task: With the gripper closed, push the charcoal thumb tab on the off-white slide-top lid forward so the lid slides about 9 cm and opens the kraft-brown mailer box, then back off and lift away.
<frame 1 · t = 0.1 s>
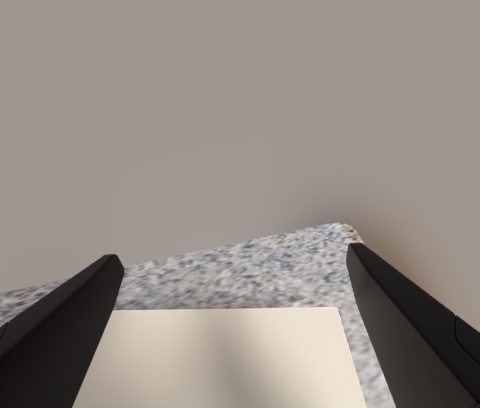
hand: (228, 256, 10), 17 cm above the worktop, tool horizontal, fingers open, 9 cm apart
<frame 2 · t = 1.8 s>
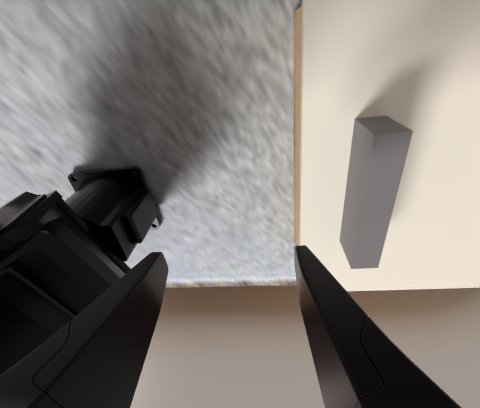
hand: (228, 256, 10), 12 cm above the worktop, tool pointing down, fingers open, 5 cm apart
mailer box: (387, 145, 19), on the worktop
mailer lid: (444, 190, 13), point 7 cm above the worktop, slide at 0.0 cm
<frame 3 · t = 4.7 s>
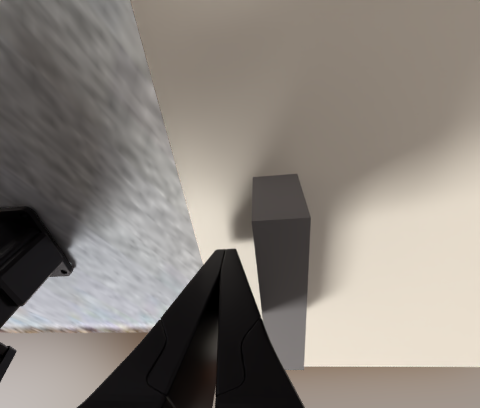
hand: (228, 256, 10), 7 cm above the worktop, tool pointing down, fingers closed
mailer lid: (387, 273, 9), point 7 cm above the worktop, slide at 0.6 cm, touching gripper
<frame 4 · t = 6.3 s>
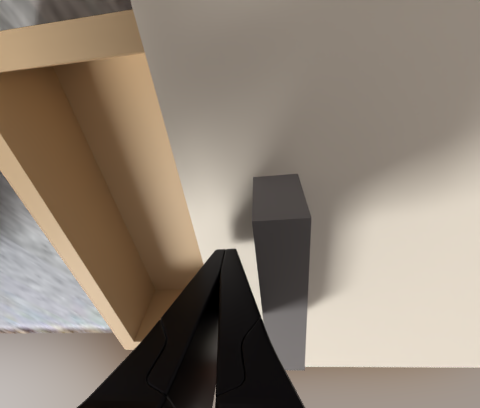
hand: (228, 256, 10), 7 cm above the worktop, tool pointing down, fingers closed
mailer box: (211, 194, 16), on the worktop
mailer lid: (388, 274, 9), point 7 cm above the worktop, slide at 7.8 cm, touching gripper
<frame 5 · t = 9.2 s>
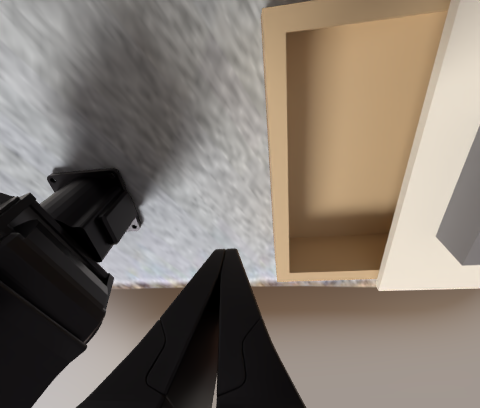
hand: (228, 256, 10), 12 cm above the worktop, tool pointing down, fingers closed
mailer box: (360, 148, 19), on the worktop
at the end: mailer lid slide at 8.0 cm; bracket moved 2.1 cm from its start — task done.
